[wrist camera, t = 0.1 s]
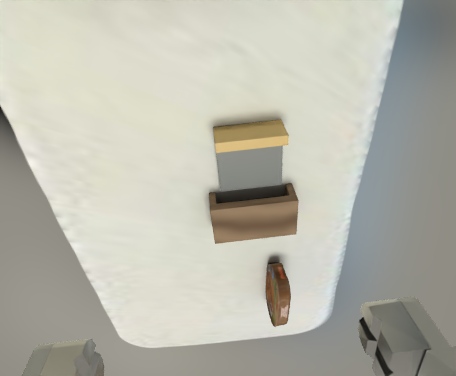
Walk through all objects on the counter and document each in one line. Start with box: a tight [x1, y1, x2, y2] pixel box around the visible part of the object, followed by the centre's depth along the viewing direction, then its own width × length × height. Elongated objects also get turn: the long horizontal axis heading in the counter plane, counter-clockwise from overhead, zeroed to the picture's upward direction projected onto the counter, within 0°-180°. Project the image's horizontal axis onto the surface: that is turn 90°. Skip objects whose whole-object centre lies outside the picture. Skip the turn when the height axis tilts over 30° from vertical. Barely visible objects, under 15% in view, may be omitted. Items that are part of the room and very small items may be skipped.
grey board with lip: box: [213, 120, 289, 192], centre depth 50 cm, size 11×10×5 cm
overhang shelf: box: [209, 184, 298, 244], centre depth 57 cm, size 8×14×4 cm, turn 95°
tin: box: [266, 263, 291, 327], centre depth 68 cm, size 15×3×8 cm, turn 1°
